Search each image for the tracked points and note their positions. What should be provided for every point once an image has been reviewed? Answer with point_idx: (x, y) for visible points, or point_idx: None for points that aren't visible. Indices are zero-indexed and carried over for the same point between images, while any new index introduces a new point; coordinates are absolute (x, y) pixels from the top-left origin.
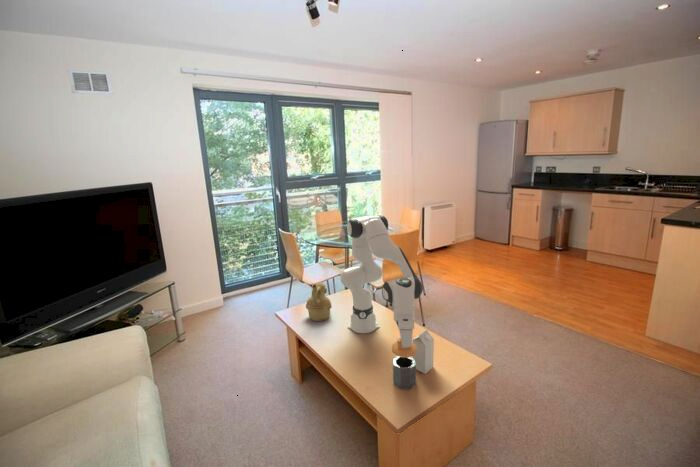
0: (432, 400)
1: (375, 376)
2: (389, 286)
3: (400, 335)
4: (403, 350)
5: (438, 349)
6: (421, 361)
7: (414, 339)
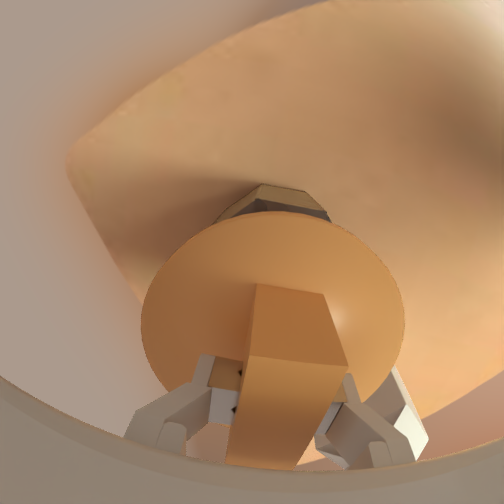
0: None
1: (337, 111)
2: None
3: (150, 496)
4: (224, 335)
5: None
6: None
7: (401, 414)
